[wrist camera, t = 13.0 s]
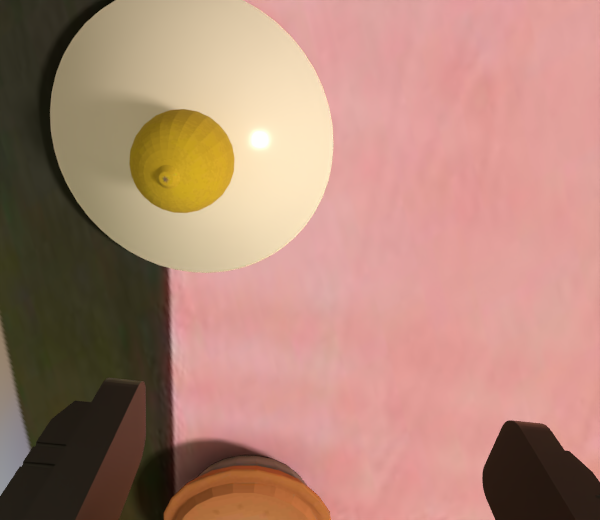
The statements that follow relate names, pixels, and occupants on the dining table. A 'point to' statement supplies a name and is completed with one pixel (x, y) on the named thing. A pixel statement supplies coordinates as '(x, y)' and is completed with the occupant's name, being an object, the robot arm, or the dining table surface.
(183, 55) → the saucer
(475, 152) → the dining table surface
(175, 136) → the lemon
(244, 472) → the pie
